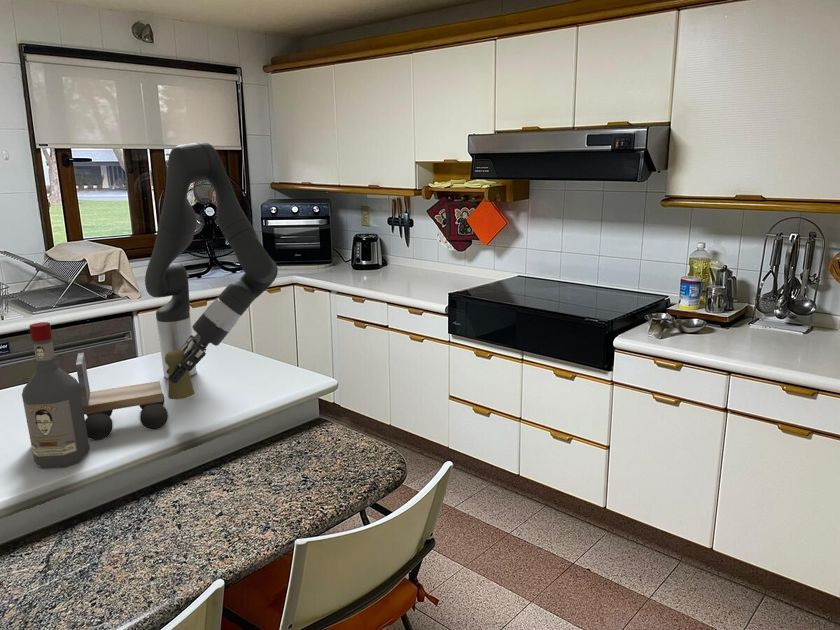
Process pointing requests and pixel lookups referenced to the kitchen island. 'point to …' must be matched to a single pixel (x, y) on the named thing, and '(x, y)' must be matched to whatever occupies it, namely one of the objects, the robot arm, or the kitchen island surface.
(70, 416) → the liquor
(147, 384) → the trolley
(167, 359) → the cork
